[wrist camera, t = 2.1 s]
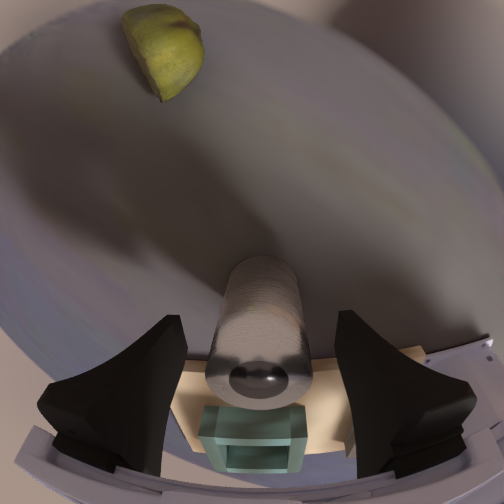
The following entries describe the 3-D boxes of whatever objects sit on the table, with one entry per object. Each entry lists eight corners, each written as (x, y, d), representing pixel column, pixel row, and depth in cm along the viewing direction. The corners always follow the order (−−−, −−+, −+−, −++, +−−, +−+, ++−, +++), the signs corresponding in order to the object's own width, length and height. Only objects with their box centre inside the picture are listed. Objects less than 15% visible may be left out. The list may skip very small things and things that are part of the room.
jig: (420, 345, 17) (441, 382, 13) (377, 434, 22) (384, 464, 18) (158, 357, 19) (140, 399, 15) (195, 443, 24) (188, 473, 20)
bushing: (297, 254, 15) (318, 340, 8) (296, 314, 16) (308, 409, 10) (224, 257, 15) (195, 342, 9) (231, 316, 17) (213, 409, 10)
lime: (190, 114, 12) (151, 101, 8) (118, 85, 12) (62, 71, 7) (232, 43, 11) (215, -2, 6) (157, 19, 10) (116, -17, 5)
